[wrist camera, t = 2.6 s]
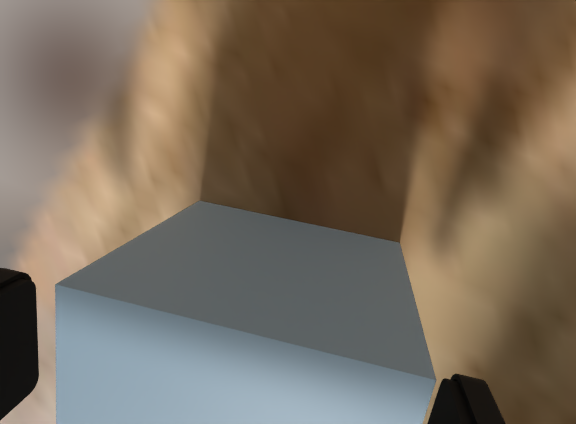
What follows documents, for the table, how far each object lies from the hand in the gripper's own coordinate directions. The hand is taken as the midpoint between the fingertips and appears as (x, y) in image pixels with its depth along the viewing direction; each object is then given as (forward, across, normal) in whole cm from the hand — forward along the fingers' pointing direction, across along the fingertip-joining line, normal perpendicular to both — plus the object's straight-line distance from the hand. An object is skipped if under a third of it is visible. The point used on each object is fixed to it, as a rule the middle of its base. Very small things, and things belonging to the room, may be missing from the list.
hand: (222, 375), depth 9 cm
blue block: (+4, -1, 0) cm, 4 cm away
